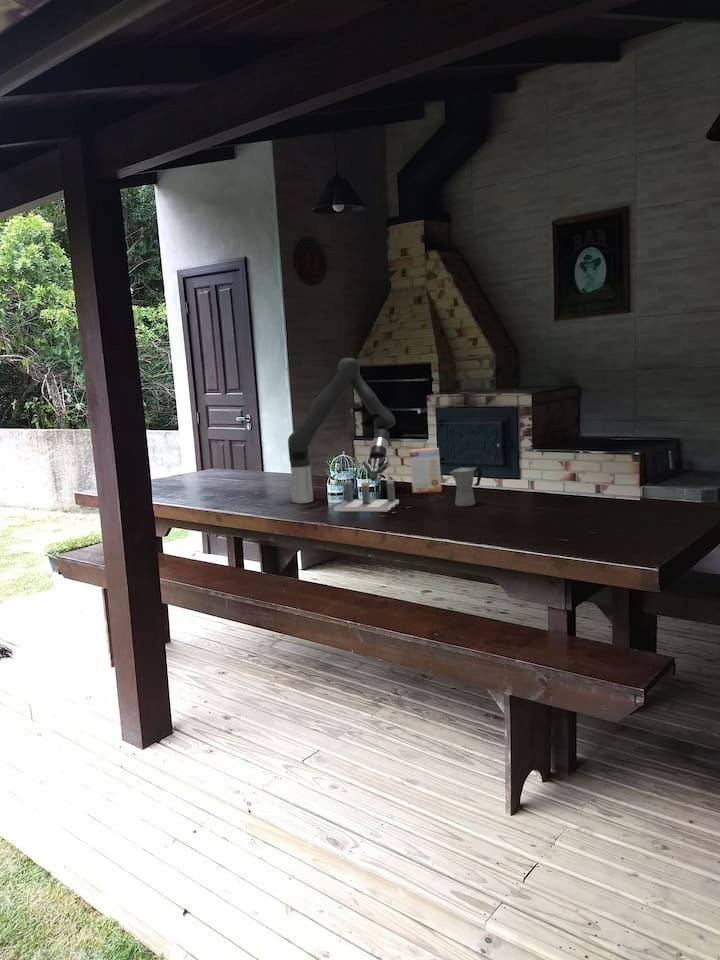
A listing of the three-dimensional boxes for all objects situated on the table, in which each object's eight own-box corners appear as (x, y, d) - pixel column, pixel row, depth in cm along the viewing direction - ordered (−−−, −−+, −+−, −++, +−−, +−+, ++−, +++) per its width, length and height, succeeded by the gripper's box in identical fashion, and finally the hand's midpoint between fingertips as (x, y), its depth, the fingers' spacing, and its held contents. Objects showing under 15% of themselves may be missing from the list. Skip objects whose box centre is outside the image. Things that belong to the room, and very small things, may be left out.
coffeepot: (455, 507, 318) (453, 466, 315) (446, 504, 327) (444, 463, 324) (488, 503, 322) (486, 462, 319) (478, 499, 331) (477, 459, 328)
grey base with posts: (333, 511, 329) (331, 487, 327) (347, 503, 345) (345, 480, 343) (387, 511, 321) (386, 486, 319) (399, 503, 336) (397, 479, 335)
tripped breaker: (362, 503, 331) (361, 483, 330) (364, 502, 334) (363, 482, 333) (368, 503, 330) (366, 483, 329) (370, 502, 333) (368, 482, 332)
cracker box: (441, 489, 360) (439, 446, 356) (441, 492, 354) (439, 448, 351) (412, 491, 361) (409, 448, 358) (412, 493, 356) (409, 450, 352)
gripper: (363, 445, 350) (356, 475, 340) (390, 444, 345) (384, 474, 336) (367, 454, 356) (361, 484, 346) (394, 453, 351) (388, 484, 342)
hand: (372, 479), depth 341 cm, fingers closed
